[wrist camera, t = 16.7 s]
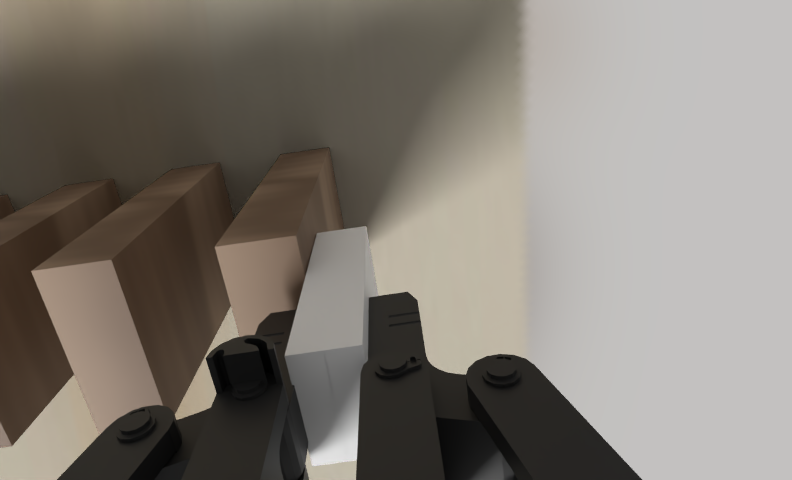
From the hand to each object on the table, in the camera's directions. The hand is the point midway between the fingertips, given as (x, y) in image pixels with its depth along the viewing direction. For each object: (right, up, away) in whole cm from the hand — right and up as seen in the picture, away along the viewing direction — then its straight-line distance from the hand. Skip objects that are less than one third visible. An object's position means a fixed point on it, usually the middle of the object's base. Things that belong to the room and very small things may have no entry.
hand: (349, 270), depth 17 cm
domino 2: (-6, +2, +7) cm, 10 cm away
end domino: (-2, +2, +7) cm, 7 cm away
